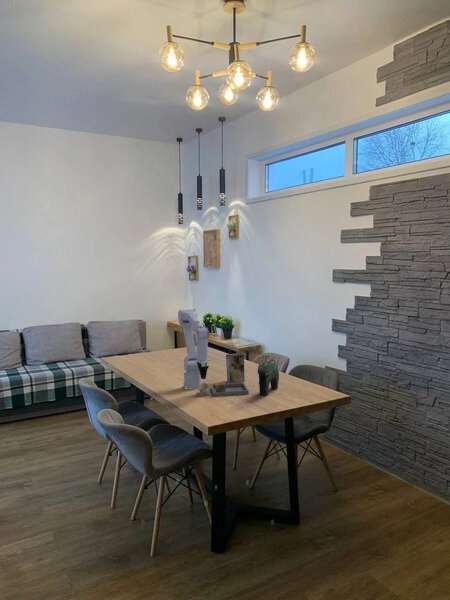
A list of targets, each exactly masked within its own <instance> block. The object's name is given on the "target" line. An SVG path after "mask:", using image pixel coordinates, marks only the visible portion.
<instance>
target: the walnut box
mask: <svg viewBox="0 0 450 600" xmlns="http://www.w3.org/2000/svg"><path fill="white" fill-rule="evenodd" d="M225 384H226V383H225V382H216V383H215V385H216V392H225Z"/></svg>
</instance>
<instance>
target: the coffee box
mask: <svg viewBox="0 0 450 600" xmlns="http://www.w3.org/2000/svg"><path fill="white" fill-rule="evenodd" d="M244 358H245V356H244V354H242V353H241V352H240V353H239V352H238V353H228V354H227V353H226V354H225V363H226V365H225V366H226V382H227V383H228V384H234V383H245V381H246V379H245V377H246V376H245V359H244Z"/></svg>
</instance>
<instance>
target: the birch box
mask: <svg viewBox="0 0 450 600" xmlns="http://www.w3.org/2000/svg"><path fill="white" fill-rule="evenodd" d="M209 385H210V384H209V381H207V380H206V381H201V382H200V389H199V392H200V396H202V395H209V392H210V386H209ZM202 397H203V396H202Z"/></svg>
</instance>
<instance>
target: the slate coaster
mask: <svg viewBox="0 0 450 600" xmlns="http://www.w3.org/2000/svg"><path fill="white" fill-rule="evenodd" d="M211 395H212V394H211V391H209V395H202V396H200V391H199V392H196V396H197V397H196V398H199V397H200V398H201V397H211Z"/></svg>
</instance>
